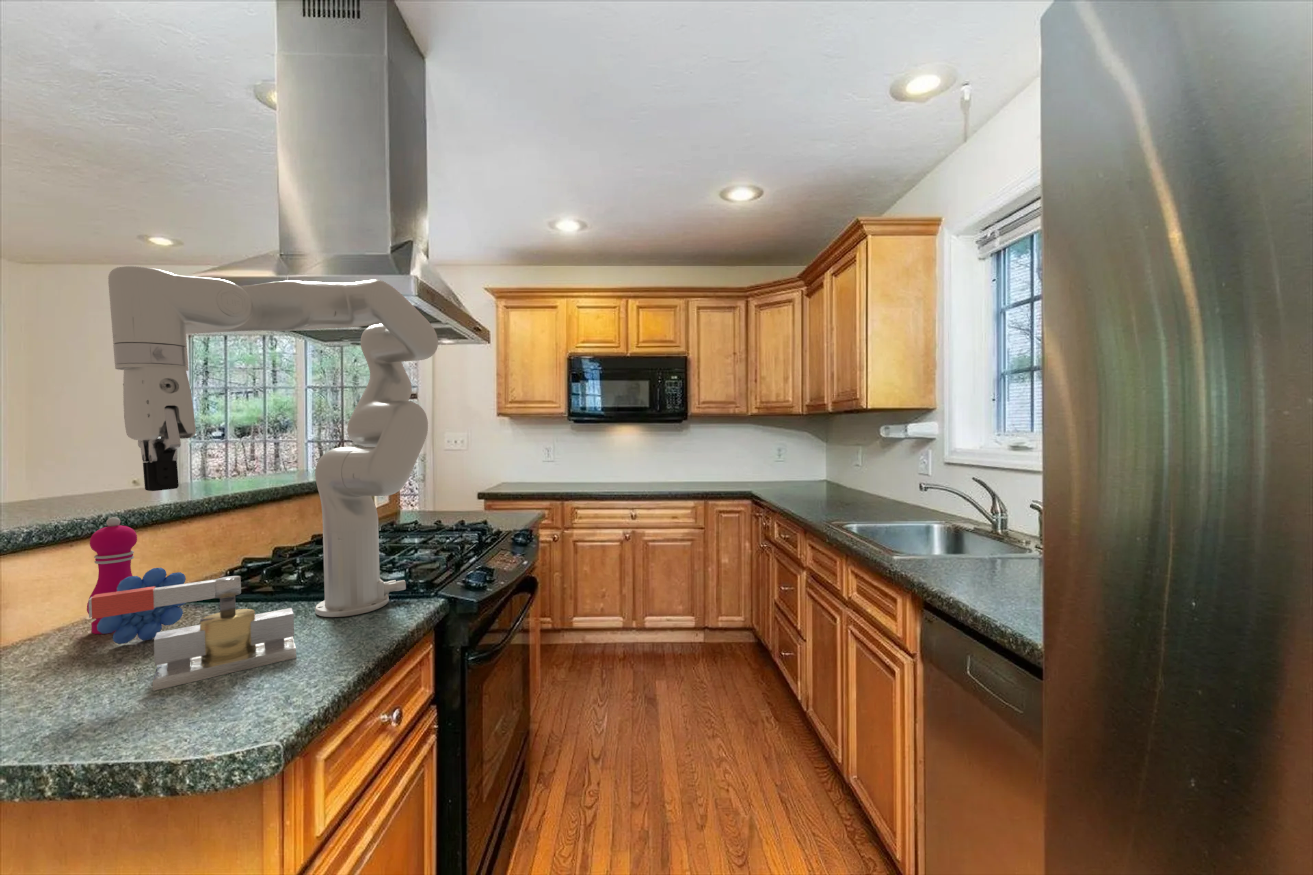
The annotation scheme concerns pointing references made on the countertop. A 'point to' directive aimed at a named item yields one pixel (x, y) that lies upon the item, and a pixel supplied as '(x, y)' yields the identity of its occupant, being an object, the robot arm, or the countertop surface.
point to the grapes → (143, 621)
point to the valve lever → (161, 596)
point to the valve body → (223, 645)
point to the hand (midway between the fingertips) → (162, 489)
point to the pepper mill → (111, 558)
